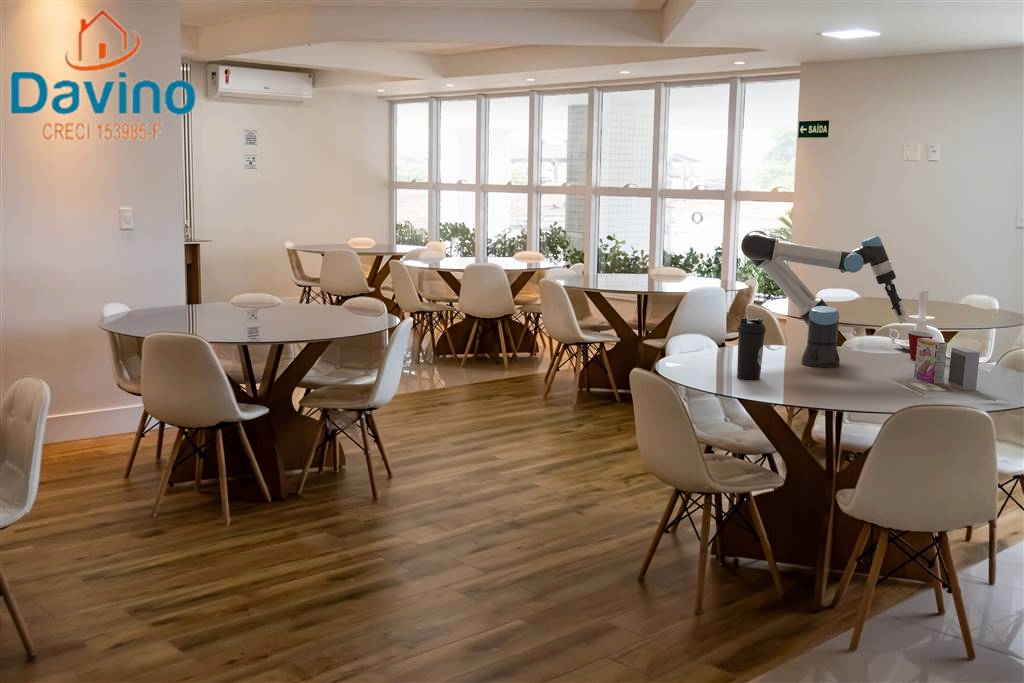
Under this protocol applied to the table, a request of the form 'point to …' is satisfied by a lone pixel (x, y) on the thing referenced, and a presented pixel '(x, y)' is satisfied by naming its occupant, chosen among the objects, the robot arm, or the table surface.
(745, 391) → the table surface
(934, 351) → the candy bar box
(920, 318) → the candlestick
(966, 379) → the grey upright block
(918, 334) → the plastic cup
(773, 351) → the table surface
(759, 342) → the water bottle
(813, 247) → the robot arm
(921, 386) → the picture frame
